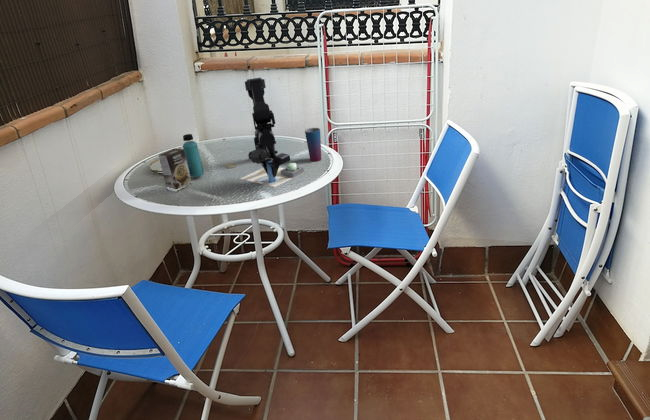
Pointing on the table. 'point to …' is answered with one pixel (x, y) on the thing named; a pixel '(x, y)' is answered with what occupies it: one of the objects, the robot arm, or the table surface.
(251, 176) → the beige flat board
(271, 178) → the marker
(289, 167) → the button
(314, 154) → the cup
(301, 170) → the button housing
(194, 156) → the beverage bottle
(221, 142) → the table surface
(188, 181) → the coffee box
